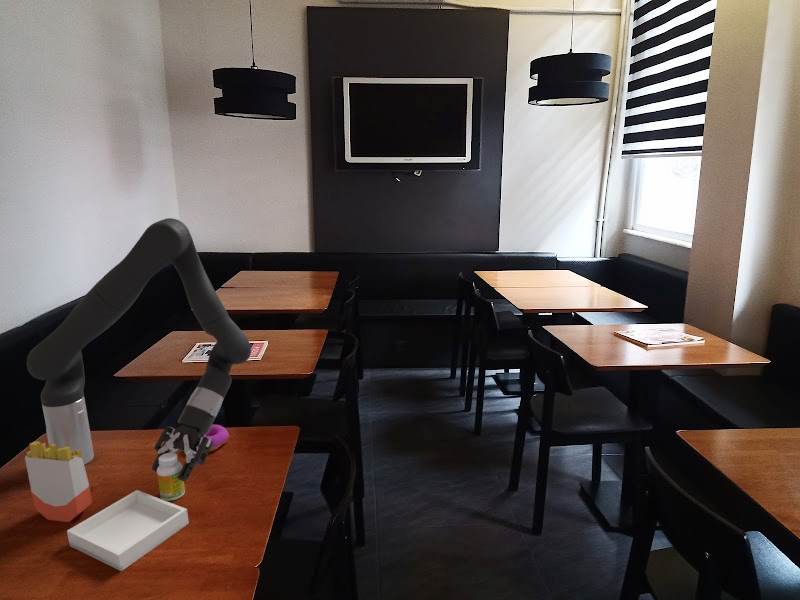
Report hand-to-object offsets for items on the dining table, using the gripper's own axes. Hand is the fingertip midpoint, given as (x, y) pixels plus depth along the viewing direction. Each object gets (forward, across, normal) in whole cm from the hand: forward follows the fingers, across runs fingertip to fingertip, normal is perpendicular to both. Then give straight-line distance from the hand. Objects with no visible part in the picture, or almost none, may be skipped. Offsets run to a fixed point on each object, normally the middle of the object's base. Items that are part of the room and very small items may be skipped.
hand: (168, 475), depth 127 cm
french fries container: (+15, -15, -7) cm, 22 cm away
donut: (-12, -11, +20) cm, 25 cm away
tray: (+13, +4, -6) cm, 15 cm away
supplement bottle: (+3, 0, +4) cm, 5 cm away
